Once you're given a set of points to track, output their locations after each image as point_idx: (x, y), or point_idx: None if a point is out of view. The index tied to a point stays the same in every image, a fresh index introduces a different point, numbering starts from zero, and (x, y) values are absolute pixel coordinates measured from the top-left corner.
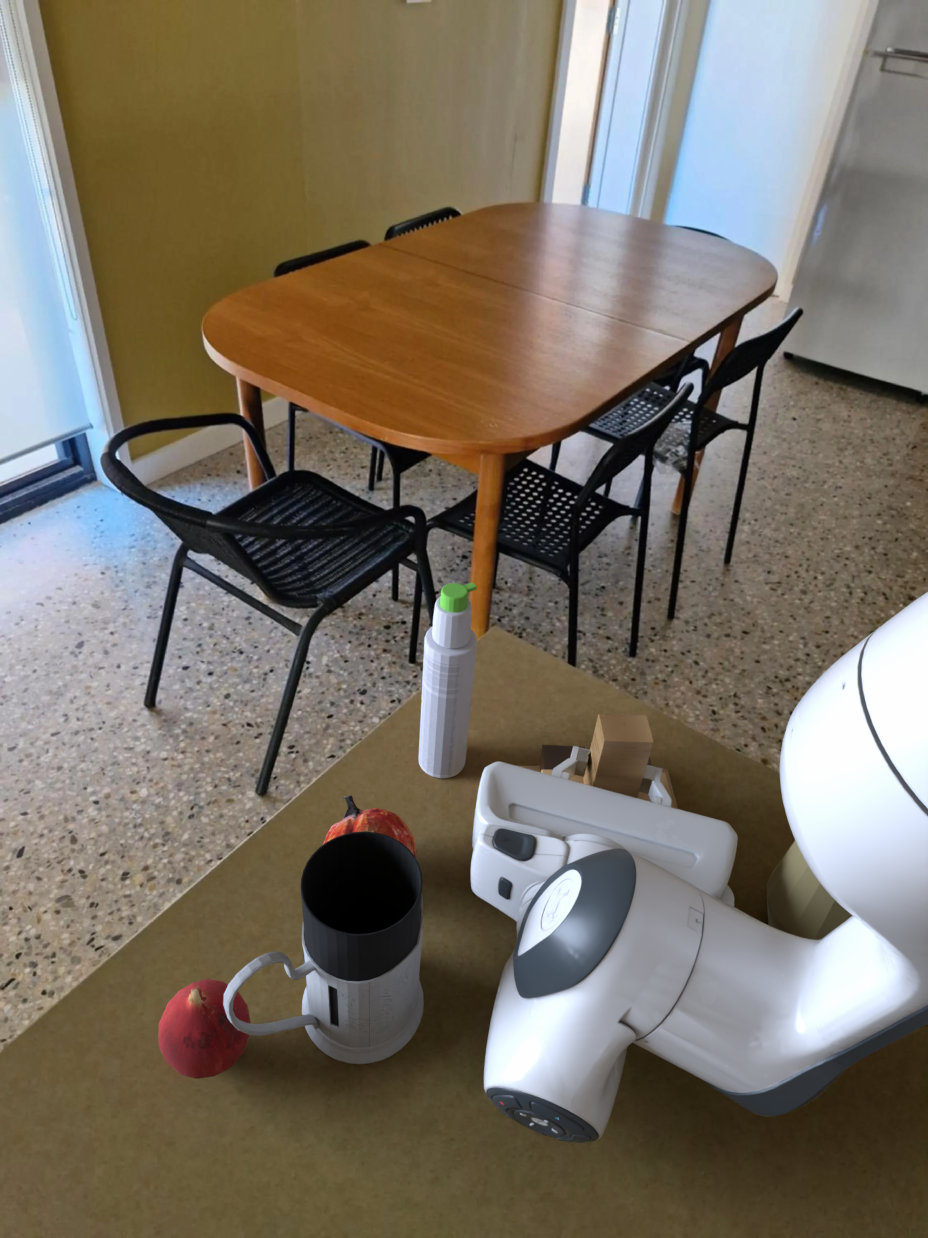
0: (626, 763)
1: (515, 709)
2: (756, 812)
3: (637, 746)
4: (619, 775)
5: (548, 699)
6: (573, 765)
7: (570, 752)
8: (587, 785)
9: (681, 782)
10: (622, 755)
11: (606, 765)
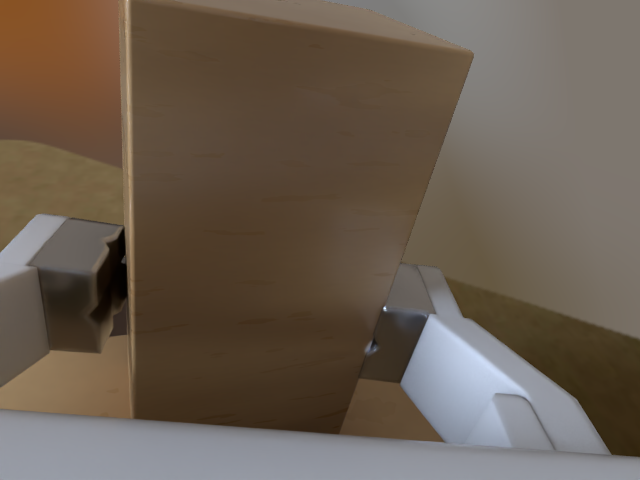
0: (309, 229)
1: (7, 230)
2: (557, 373)
3: (380, 83)
4: (273, 312)
5: (96, 211)
6: (8, 295)
7: None
8: (11, 417)
9: None
10: (286, 164)
11: (189, 251)
